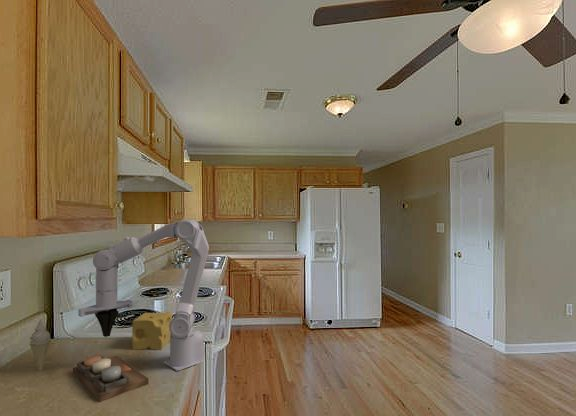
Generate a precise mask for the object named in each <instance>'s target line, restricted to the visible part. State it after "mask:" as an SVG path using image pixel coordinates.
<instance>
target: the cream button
mask: <svg viewBox="0 0 576 416" xmlns="http://www.w3.org/2000/svg"><path fill="white" fill-rule="evenodd" d="M107 367H111V360H110V359H106V358H104V359H99V360H96V361H94V362H93V370H92V371H93V372H94V373H101V372H102V370H103V369H105V368H107Z"/></svg>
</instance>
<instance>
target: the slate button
mask: <svg viewBox="0 0 576 416" xmlns="http://www.w3.org/2000/svg"><path fill="white" fill-rule="evenodd" d="M120 377H121V367H119V366H111V367H107V368H105V369H103V370H102V380H103V381H114V380H116V379H118V378H120Z"/></svg>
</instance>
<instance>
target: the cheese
mask: <svg viewBox="0 0 576 416" xmlns="http://www.w3.org/2000/svg"><path fill="white" fill-rule="evenodd" d="M172 319H173V313H172V311H169V312H168V311H166V312H144V313H142V314H141V315H139V316H138V317H137V318H136V319H133V320H132V325H131V326H132V327H131V328H132V335H131V336H132V337H131V338H132V350H147V349H150V350H158V351H160V350H161V351H162V350H163V349H164V347H165V346H166V345H167V344H168V343H170V331H169V324H170V322H171V320H172Z"/></svg>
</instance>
